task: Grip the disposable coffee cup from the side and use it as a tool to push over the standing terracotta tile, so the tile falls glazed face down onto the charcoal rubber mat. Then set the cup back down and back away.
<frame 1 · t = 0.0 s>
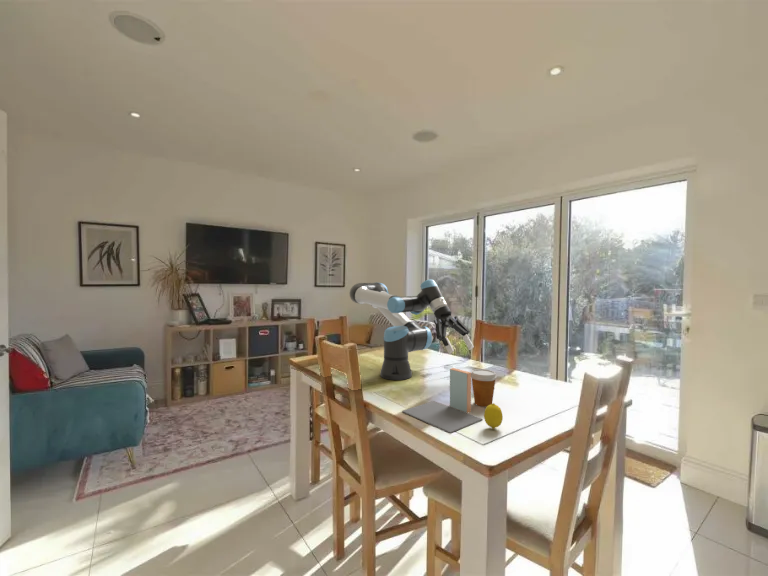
hand: (461, 350, 156), 15 cm above the table, tool tilted 35°, fingers open, 13 cm apart
disposable coffee cup: (483, 404, 133), on the table
mat: (441, 415, 121), on the table
tile: (460, 409, 128), on the table
lemon: (493, 429, 111), on the table
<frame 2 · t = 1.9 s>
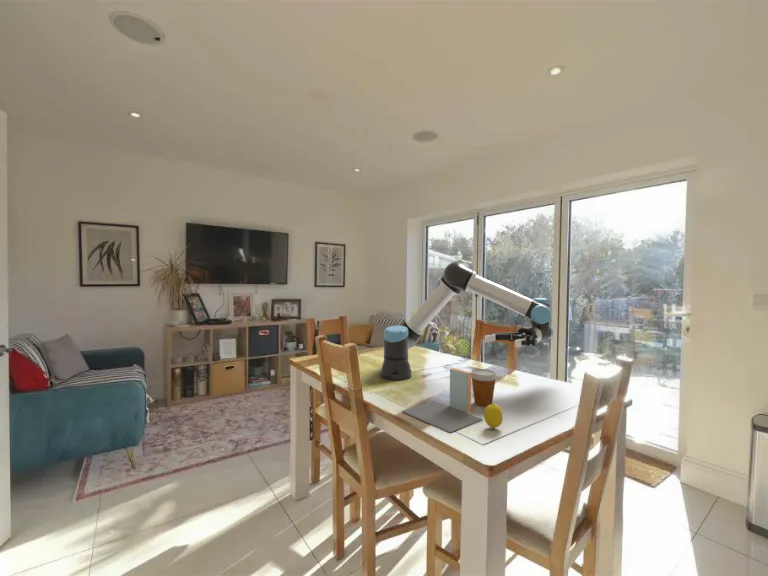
hand: (499, 341, 139), 22 cm above the table, tool horizontal, fingers open, 13 cm apart
nothing on the table moved.
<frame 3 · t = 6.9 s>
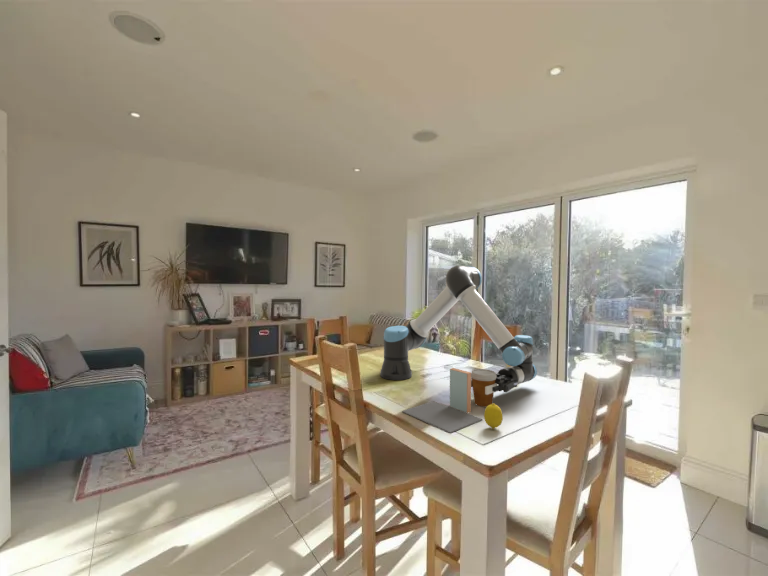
hand: (475, 387, 130), 7 cm above the table, tool horizontal, fingers closed on disposable coffee cup, 8 cm apart
disposable coffee cup: (483, 404, 133), on the table, touching gripper
everything else where it was.
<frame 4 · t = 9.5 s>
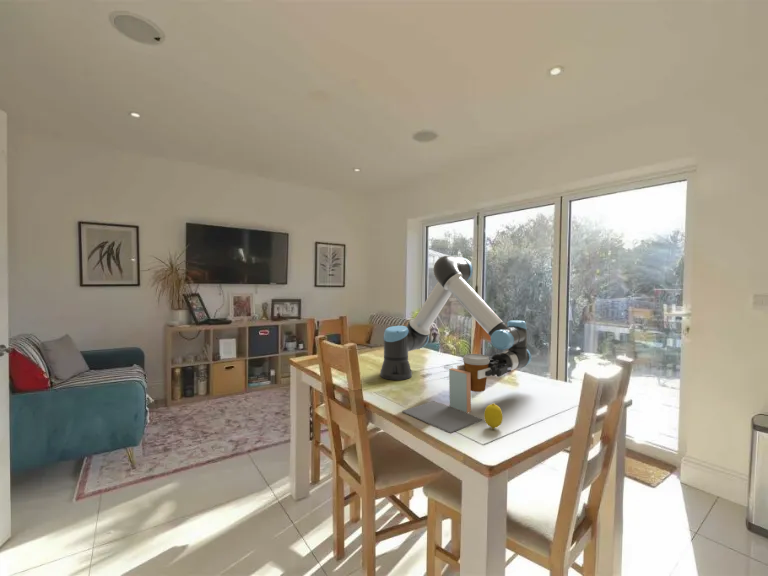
hand: (468, 372, 126), 14 cm above the table, tool horizontal, fingers closed on disposable coffee cup, 8 cm apart
disposable coffee cup: (476, 389, 129), point 7 cm above the table, touching gripper
tile: (460, 409, 128), on the table, touching gripper
everything else where it was.
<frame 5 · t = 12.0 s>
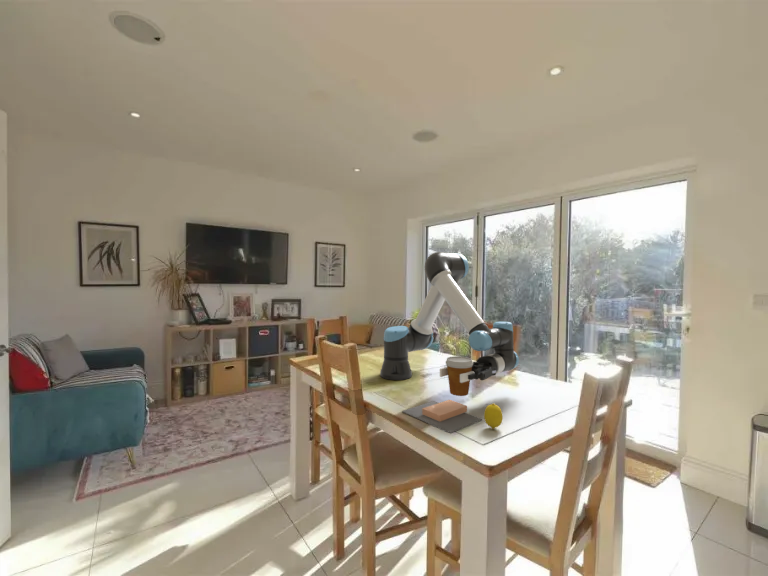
hand: (450, 375, 121), 14 cm above the table, tool horizontal, fingers closed on disposable coffee cup, 8 cm apart
disposable coffee cup: (459, 393, 124), point 7 cm above the table, touching gripper
tile: (458, 405, 127), point 2 cm above the table, tilted 90°, touching mat
everything else where it was.
when the fingers open (7 cm above the table, at t = 17.3 s): disposable coffee cup stays where it is, on the table.
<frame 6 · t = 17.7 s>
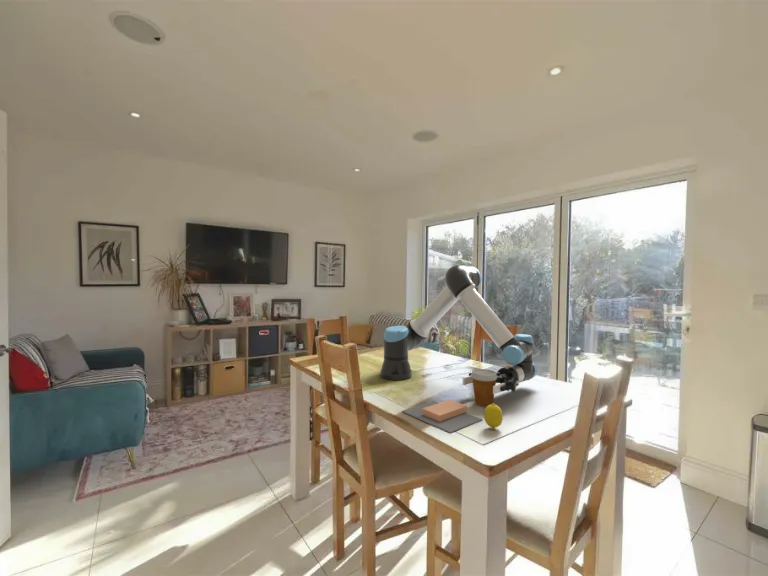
hand: (477, 385, 131), 7 cm above the table, tool horizontal, fingers open, 13 cm apart
disposable coffee cup: (483, 404, 133), on the table
everything else where it was.
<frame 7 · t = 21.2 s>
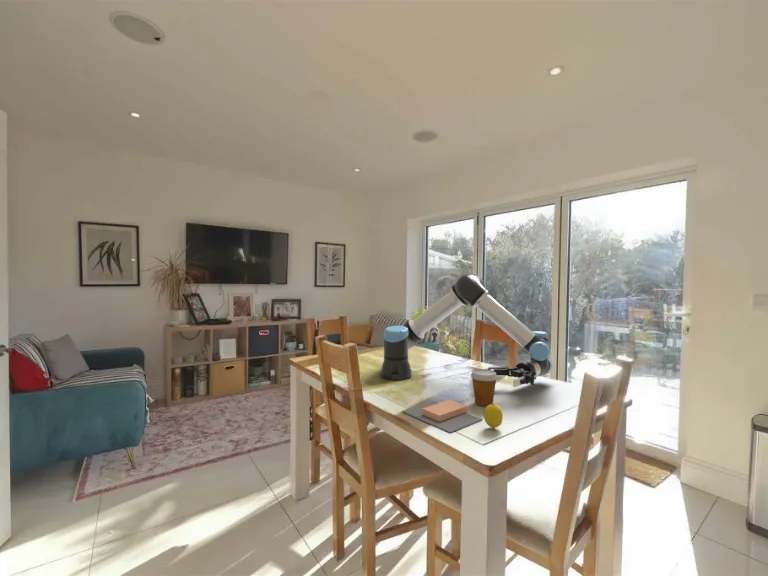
hand: (498, 379, 139), 8 cm above the table, tool horizontal, fingers open, 13 cm apart
nothing on the table moved.
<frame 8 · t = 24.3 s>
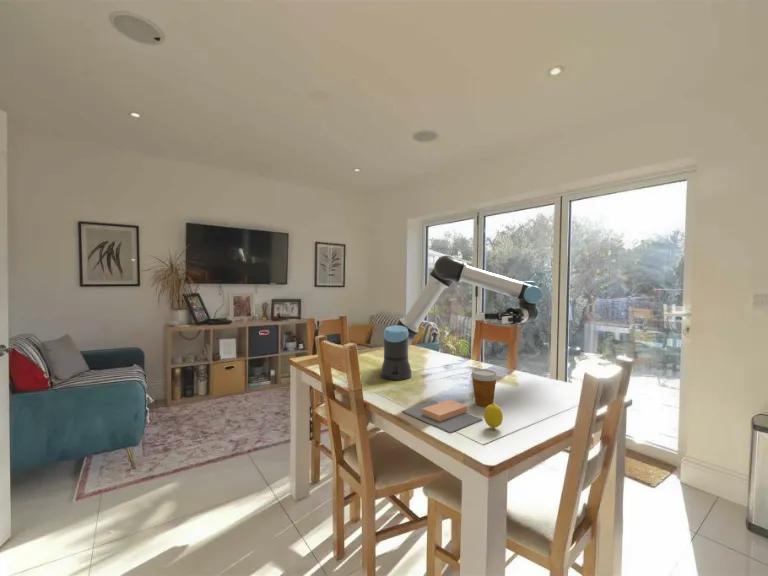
hand: (488, 318, 149), 30 cm above the table, tool horizontal, fingers open, 13 cm apart
nothing on the table moved.
at the end: tile tilted 90°; tile touching mat; disposable coffee cup inside the target area (0.5 cm from its centre), on the table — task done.
